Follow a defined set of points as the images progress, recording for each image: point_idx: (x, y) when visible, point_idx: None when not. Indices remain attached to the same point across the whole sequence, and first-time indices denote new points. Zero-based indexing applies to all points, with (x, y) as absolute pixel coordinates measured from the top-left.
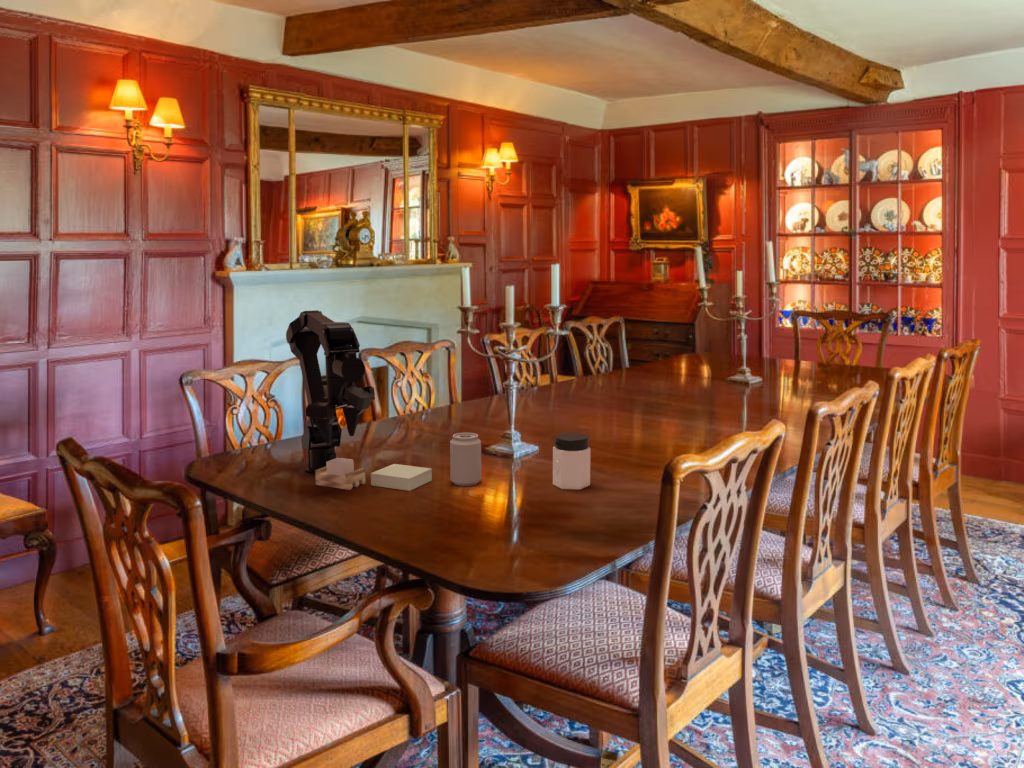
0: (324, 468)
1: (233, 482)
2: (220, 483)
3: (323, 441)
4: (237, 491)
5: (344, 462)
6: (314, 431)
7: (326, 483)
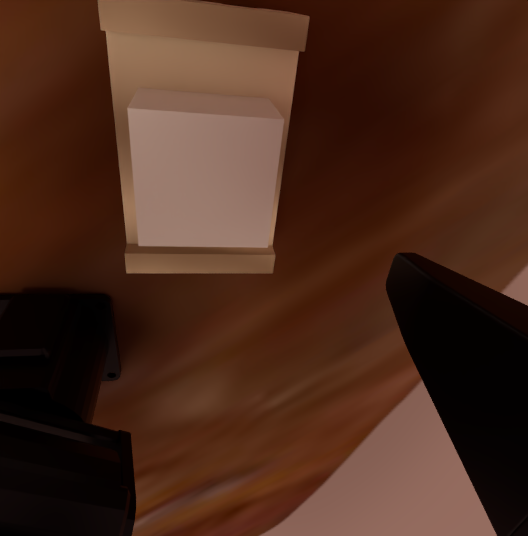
0: (223, 254)
1: (320, 439)
2: (338, 452)
3: (59, 437)
4: (403, 384)
5: (238, 124)
6: (116, 525)
7: None
